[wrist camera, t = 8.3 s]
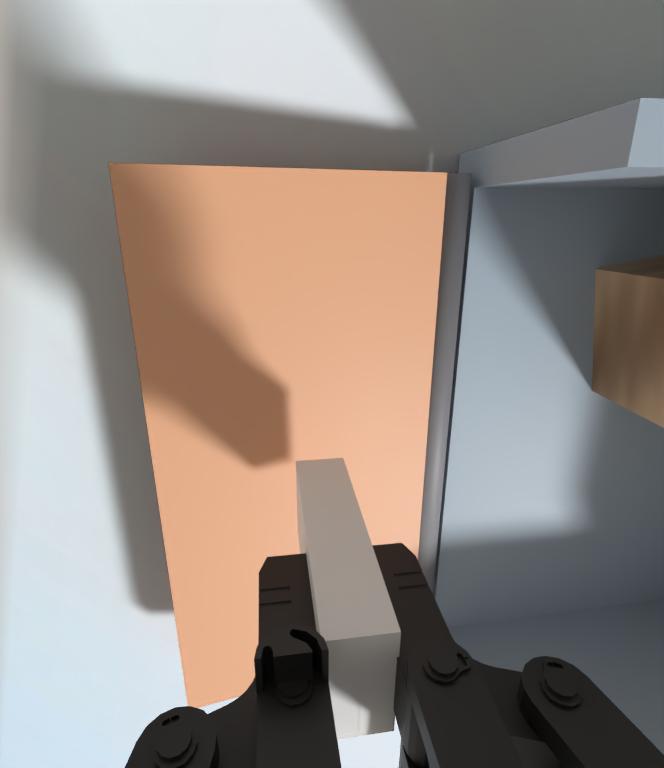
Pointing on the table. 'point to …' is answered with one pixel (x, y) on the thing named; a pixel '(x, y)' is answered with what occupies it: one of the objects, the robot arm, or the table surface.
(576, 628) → the box
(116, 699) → the table surface
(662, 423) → the wooden block
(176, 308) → the panel
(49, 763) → the table surface
